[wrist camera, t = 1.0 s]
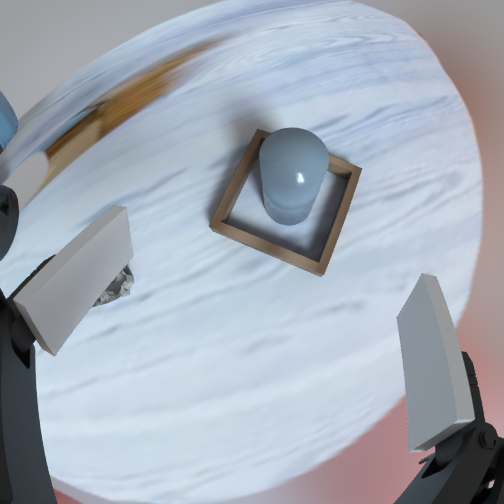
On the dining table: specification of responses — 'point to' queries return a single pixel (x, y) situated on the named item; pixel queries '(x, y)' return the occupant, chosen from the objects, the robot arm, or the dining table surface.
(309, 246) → the dining table surface
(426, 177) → the dining table surface
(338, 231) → the wooden square frame
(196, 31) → the dining table surface
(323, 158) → the slate jar
